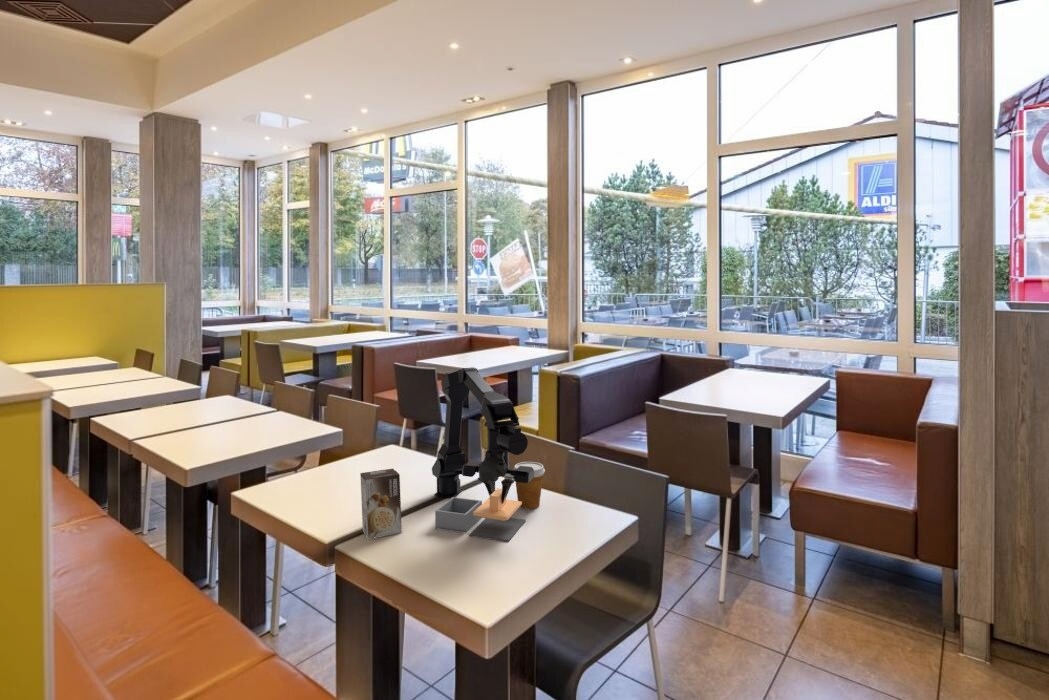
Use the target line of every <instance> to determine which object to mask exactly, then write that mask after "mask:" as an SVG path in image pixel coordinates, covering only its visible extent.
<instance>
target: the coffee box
mask: <svg viewBox="0 0 1049 700" xmlns="http://www.w3.org/2000/svg"><path fill="white" fill-rule="evenodd" d="M400 477H401V476H400V473H399V472H398V471H397V470H395V469H394V468H388V469H386V468H385V469H380V470H373V471H366V472H360V493H361V495H360V496H361V516H362V517H361V518H362V519H361V520H362V521H361V522H362V532H363V533H364V535H365V537H366V536H367V537H366V538H367V539H368V538H372V539H375V538H374V537H377V538H380V536H382V537H386V536H391V535H395V534H401V533H403V532H402V529H403V528H402V503H401V499H402V498H401V480H400V479H401V478H400Z"/></svg>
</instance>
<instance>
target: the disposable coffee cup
mask: <svg viewBox="0 0 1049 700" xmlns="http://www.w3.org/2000/svg"><path fill="white" fill-rule="evenodd" d="M519 466H528V467H532V468H533V469H534V478H533V479H532V480H531V481H530V482H529V483H520V482H516V481H515V482H514V483H515V487H516V489H515V490H516V496H517V501H521V502H522V505H521V506H520V507H519V508H521V509H525V510H533V509H537V508H539V507H540V503H541V494H542V489H543V488H542V487H543V481H544V475H545V472H546V470H545V468H544V465H543V463H540V462H535V461H521V462H518V463H516V464H515V465H514V467H513V469H517V468H518V467H519Z"/></svg>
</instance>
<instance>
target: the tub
mask: <svg viewBox="0 0 1049 700" xmlns="http://www.w3.org/2000/svg"><path fill="white" fill-rule="evenodd" d="M482 504H483V500H479V499H473V498H464V497H463V498H462V497H457V496H455V497H452V498H449V499H448V500H447V501H446V502H445V503H443V504H442V505H440V506H439V507H438V508H437V509H436V510H434V514H435V515H434V516H435V517H434V518H435V522H434V523H435V525H434V526H435V527H434V528H435V529H436V530H437V529H438V530H443V531H450V532H457V533H465V534H467V533H469V531H470V530H471V529H472V528H473V527H474V526H475V525H476V524H477V523H478V522H480V520H482V518H481V517H479V516H474V515H473V512H474V511H475V510H476V509H477V508H478V507H480V506H481V505H482Z"/></svg>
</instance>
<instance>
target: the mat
mask: <svg viewBox="0 0 1049 700" xmlns="http://www.w3.org/2000/svg"><path fill="white" fill-rule="evenodd" d="M526 521H527V520H526V519H524V518H516V517H510V518H509V519H508V520H505V521H503V520H496V519H488V518H484V519H483V520H482V521H481V522H480V523H479V524H478V525H477V526H476V527H475V528H473V530H472V531H470V533H469V534H468V536H469V537H472V538H478V539H479V538H480V539H488V540H493V541H498V542H499V541H501V542H502V541H503V542H507V543H510V541H511V540H512V539H513V538H514V537H515V535H516V534H517V532H519V530H520V529H521V528H522V527H523V526H524V524H525V523H526Z"/></svg>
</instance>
